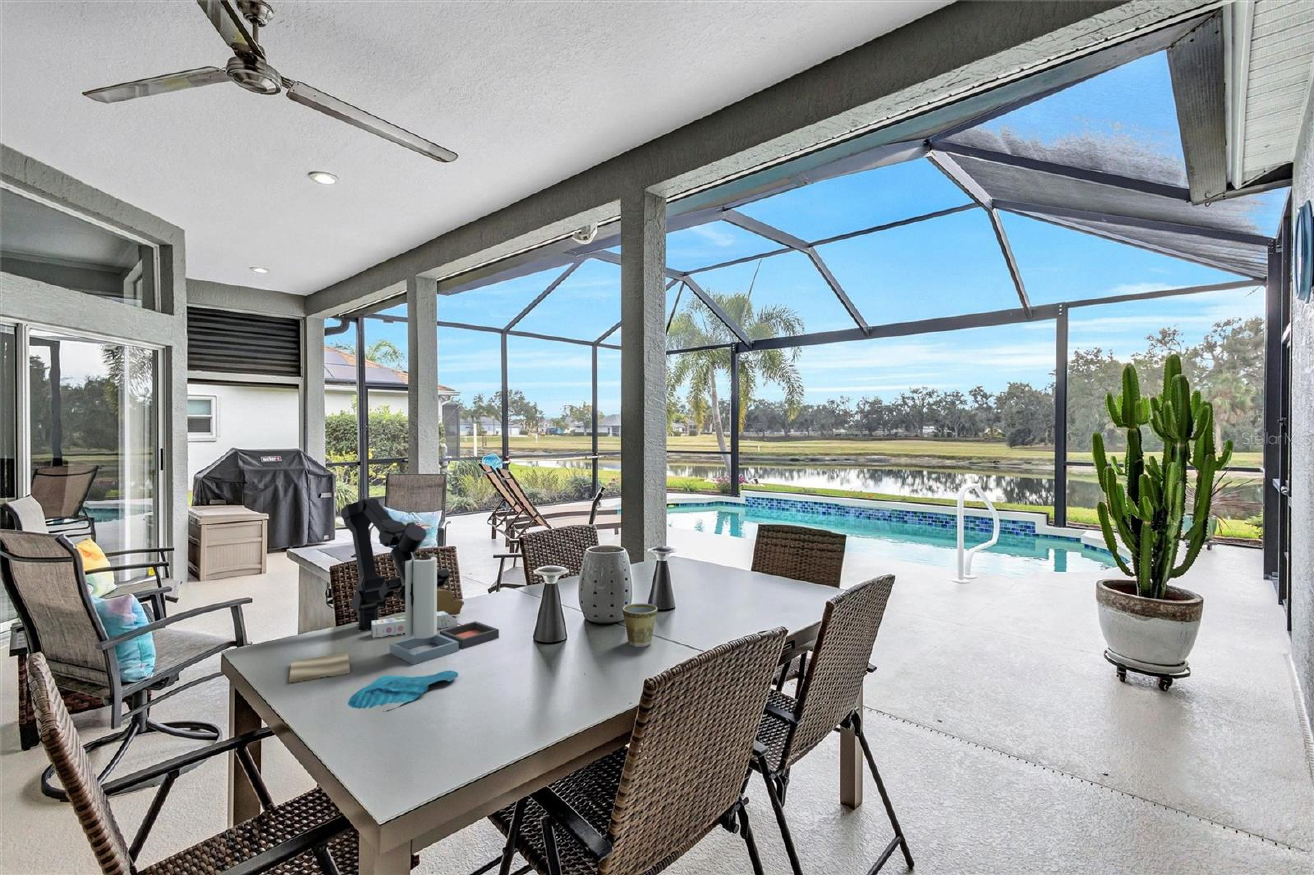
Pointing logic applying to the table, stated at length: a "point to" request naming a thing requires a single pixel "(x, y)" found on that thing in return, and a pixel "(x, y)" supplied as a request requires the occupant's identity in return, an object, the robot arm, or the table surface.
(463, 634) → the tray
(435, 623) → the paper towel roll
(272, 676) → the table surface
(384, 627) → the box
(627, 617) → the ceramic cup
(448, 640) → the blue square frame
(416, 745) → the table surface
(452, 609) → the wooden carving
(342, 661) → the wooden pad
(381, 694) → the blue flat elongated piece
